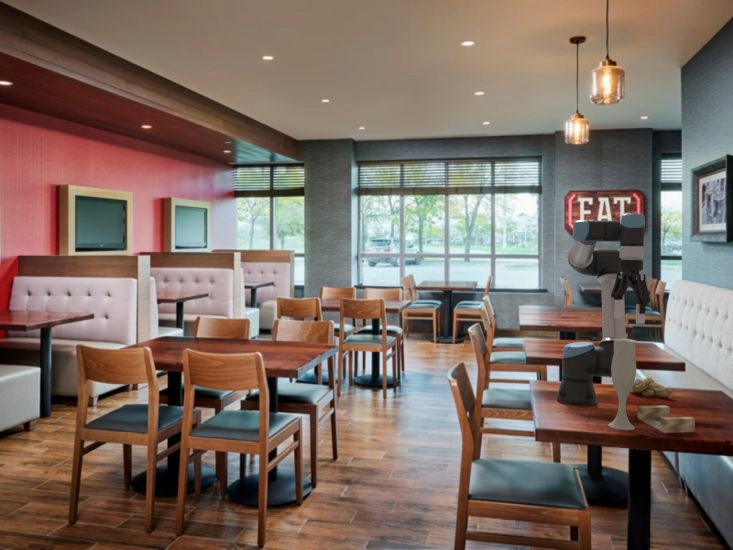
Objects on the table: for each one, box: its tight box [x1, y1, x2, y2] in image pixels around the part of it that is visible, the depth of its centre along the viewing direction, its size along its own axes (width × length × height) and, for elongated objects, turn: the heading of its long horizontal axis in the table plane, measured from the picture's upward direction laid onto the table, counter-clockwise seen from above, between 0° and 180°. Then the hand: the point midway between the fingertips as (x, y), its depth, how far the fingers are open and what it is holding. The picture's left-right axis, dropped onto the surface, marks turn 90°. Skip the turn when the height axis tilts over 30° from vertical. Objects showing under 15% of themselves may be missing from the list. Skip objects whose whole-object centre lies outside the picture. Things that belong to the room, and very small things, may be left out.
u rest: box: [637, 405, 696, 434], centre depth 212 cm, size 11×16×5 cm
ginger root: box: [630, 377, 673, 398], centre depth 255 cm, size 16×16×8 cm
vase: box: [607, 338, 637, 431], centre depth 209 cm, size 9×8×30 cm
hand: (628, 320), depth 209 cm, fingers open, 13 cm apart
